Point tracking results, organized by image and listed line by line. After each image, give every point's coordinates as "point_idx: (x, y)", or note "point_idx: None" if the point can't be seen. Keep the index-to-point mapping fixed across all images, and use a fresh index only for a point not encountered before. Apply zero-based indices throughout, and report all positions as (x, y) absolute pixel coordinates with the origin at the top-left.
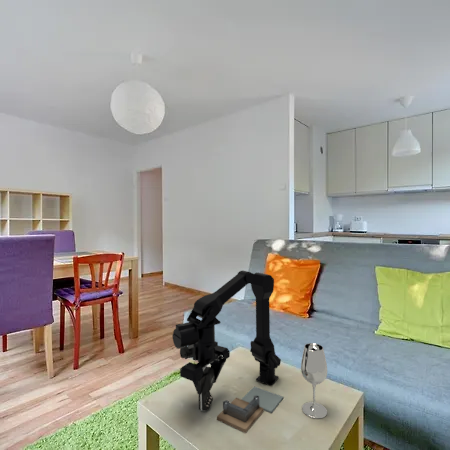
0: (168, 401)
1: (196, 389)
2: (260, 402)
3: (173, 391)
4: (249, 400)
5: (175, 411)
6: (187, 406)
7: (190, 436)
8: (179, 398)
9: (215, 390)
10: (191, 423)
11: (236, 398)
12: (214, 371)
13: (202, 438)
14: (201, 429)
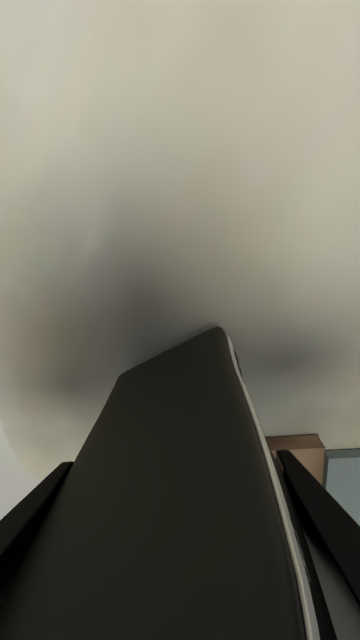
0: (32, 129)
1: (22, 508)
2: (353, 518)
3: (129, 16)
4: (342, 485)
5: (28, 265)
6: (107, 283)
7: (16, 430)
8: (114, 166)
9: (344, 296)
10: (54, 389)
11: (318, 451)
12: (344, 631)
13: (48, 462)
14: (70, 436)
